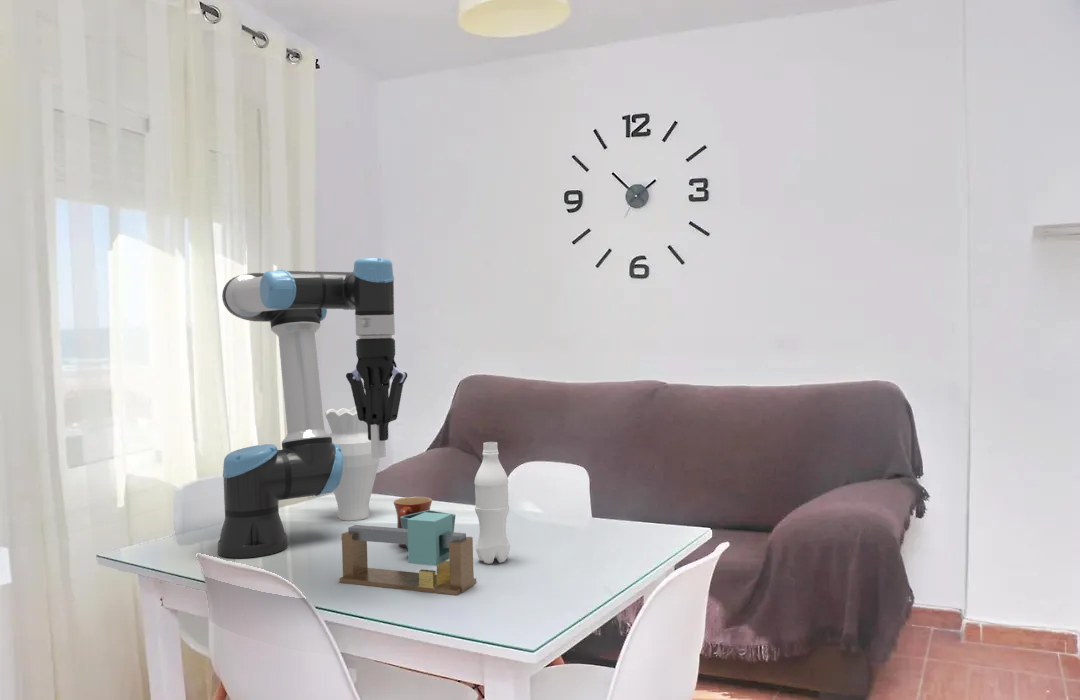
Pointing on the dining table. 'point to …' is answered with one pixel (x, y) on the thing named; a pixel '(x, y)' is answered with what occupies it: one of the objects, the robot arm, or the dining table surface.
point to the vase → (353, 463)
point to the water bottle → (491, 506)
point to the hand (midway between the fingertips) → (378, 456)
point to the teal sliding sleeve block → (428, 538)
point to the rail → (447, 581)
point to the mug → (410, 507)
